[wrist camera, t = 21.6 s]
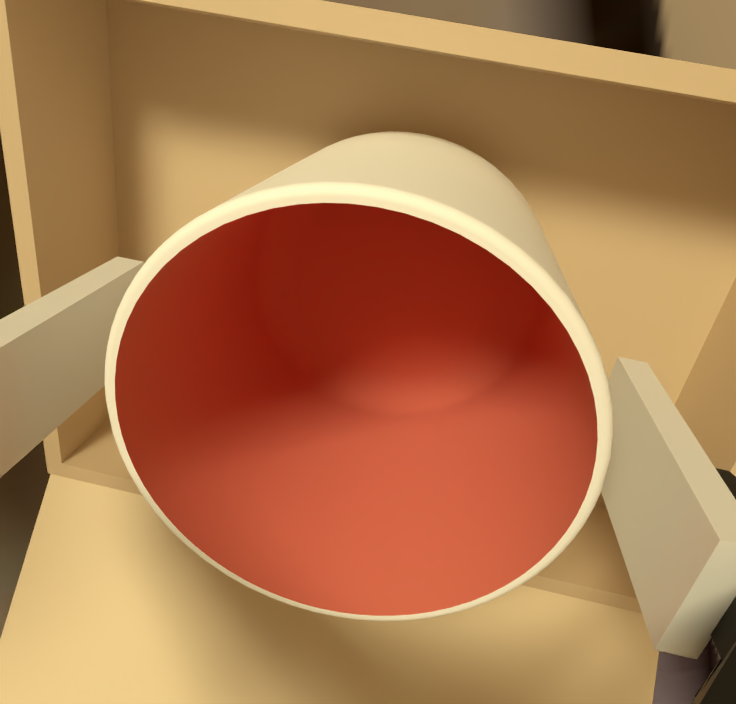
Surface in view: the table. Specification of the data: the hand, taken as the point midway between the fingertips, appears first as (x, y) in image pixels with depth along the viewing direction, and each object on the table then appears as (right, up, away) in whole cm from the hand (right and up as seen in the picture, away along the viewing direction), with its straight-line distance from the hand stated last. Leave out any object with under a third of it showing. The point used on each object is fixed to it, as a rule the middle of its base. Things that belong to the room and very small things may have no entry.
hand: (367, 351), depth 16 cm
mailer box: (+1, +2, +5) cm, 6 cm away
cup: (+1, +3, +4) cm, 5 cm away
